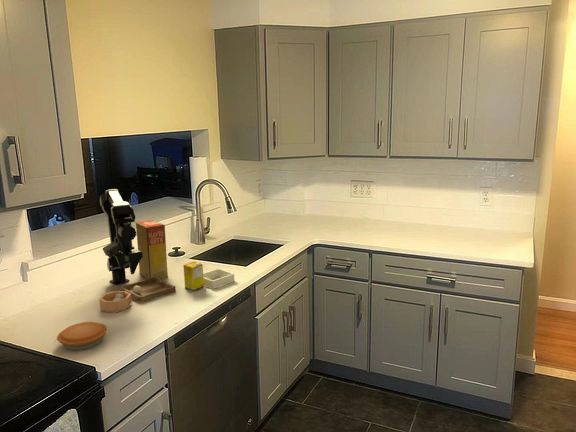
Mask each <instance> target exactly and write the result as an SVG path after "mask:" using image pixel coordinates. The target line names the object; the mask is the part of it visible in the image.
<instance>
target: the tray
mask: <svg viewBox="0 0 576 432" xmlns="http://www.w3.org/2000/svg"><path fill="white" fill-rule="evenodd" d="M135 286H140V287H141V289H142V291H141V293H140V294H135V293H133V287H135ZM119 291H126V292H128V293H130V294H131V300H134V301H135V302H138V303H140V304H142V303H146V302H149V301H152V300H155V299H157V298H161V297H164V296H167V295H171V294H173V293H176V286H175V285H173V284H170V283H168V282H166V281H163V280H161V279H157V278H154V277H153V278H149V279H146V278H145V279H142V280H140V281H135V282H133V283H129V284H126V285H123V286H120V287H119Z"/></svg>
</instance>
